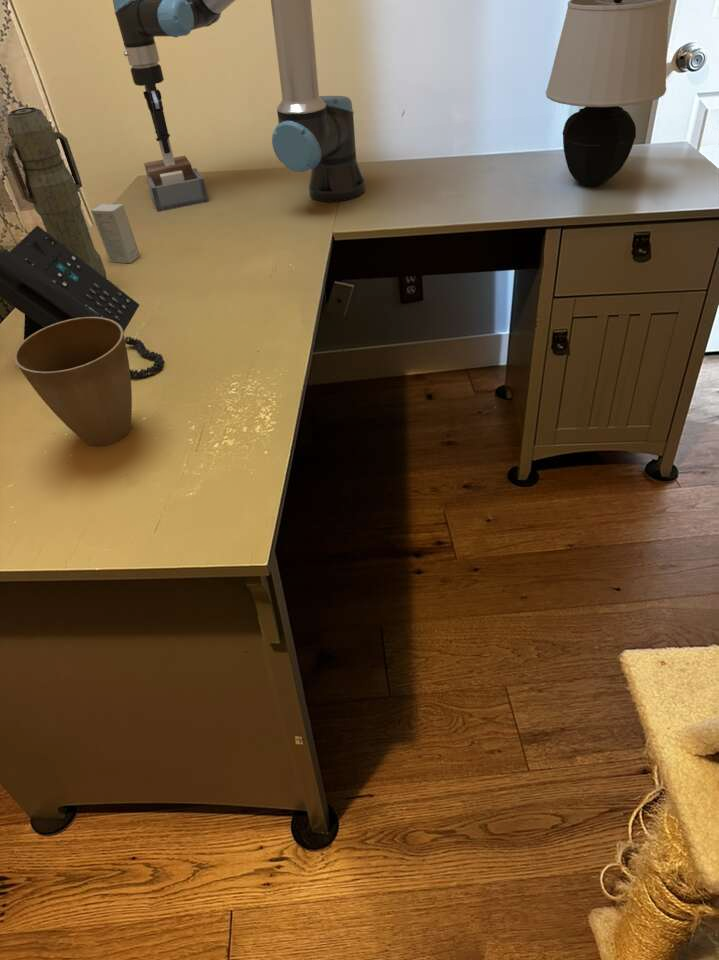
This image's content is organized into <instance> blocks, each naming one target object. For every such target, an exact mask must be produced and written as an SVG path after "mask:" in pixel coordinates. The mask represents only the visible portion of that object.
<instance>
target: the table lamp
mask: <svg viewBox="0 0 719 960" xmlns="http://www.w3.org/2000/svg"><path fill="white" fill-rule="evenodd" d="M669 5H670V0H568V2H567V9H566V13H565V18H564V21H563V26H562V29H561V33H560V37H559V41H558V44H557V49H556V52H555V56H554V59H553V60H554V61H553V65H552V69H551V72H550V73H551V74H550V76H549V80H548V84H547V88H546V90H545V95H546V98H547V99H549V100H550V101H552V102H555V103H558V104H562V105H567V106H575V107H582V108H579V110H578V111H577V112H574V113H572V115H570V116H568V117H567V119H566V121H565V123H564V126H563V130H562V144H563V153H564V157H565V163H566V167H567V169H568V171H569V174H570V175H571V176H572V178H573V179H574V180H575V181H576V182H577V183H578V184H580V185H584V186H588V187H589V186H599V185H602V184H605V183H606V182H607V181H609V180H610V179H612V178H613V177H614V176H615V175H616V174H617V173H619V171H620V170H621V169H622V168H623V167H624V164H625V163H626V161H627V160H628V158H629V155H630V153H631V151H632V148H633V145H634V143H635V139H636V136H637V134H636V133H637V130H636V129H637V128H636V124H635V122H634V120H633V118H632V116H631V115H630V113H629V112H628V111H626V110H624V108H623V107H624V106H626V107H627V106H634V105H640V104H644V103H645V104H646V103H649V102H652V101H656V100H658V99H660V98H662V97H663V96H664V95H665V94H666V91H667V58H668V56H667V55H668V33H669V31H668V30H669V24H668V23H669ZM583 107H584V108H583Z"/></svg>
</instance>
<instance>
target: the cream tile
mask: <svg viewBox="0 0 719 960" xmlns="http://www.w3.org/2000/svg"><path fill="white" fill-rule="evenodd" d="M160 178H161V181H162V185H166V184H171V183H176V182H182V181H185V180H184V176H183V172H182V171H181V170H180V171H175V172H170V173H164V174H160Z"/></svg>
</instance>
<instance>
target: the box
mask: <svg viewBox="0 0 719 960" xmlns="http://www.w3.org/2000/svg"><path fill="white" fill-rule="evenodd" d="M192 172H193V177H194V179H192V180H187V181H182V182H176V183H171V184H166V185H161V186H156V187H155V185H154V183H153V181H152V179H151V177H146V183H147V185H148V188H149V193H150V197H151V200H152V202H153V205H154V206H156V207H155V209H156V210H157V212H158V211H159V212H163V211H162V210H164V211H168V210H167V209H169V210H172V209H171V208H173V209H177V208H176V207H178V208H182V207H181V206H183V207H188V206H192V204H193V205H197V203H198V204H202V203H201V202H203V203H207V202H206V201H208V202H209V198H208V194H207V189H206V185H205V180H204V177H203V176H202V175H201V173H200V171H198V169H197V168H196V167H195V168H192ZM187 205H188V206H187Z"/></svg>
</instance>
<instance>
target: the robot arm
mask: <svg viewBox="0 0 719 960" xmlns="http://www.w3.org/2000/svg"><path fill="white" fill-rule="evenodd" d="M235 1H236V0H112V3H113V8H114V15H115V17H116V21H117V23H118V24H117V25H118V27H119V31H120V34H121V39H122V42H123V46H124V48H125V51H123V55H124V57H127V61H128V64H129V66H131V68H130V73H131V77H132V81H133V83H134V85H135V86H139V87H144V89H145V91H143V92H142V93H143V96H144V99H145V101H146V104H147V108H148V110H149V113H150V116H151V120H152V123H153V127H154V130H155V131H154V133H155V134H156V138H155V139H156V142H158V143H159V144H158V145H159V148H160V151H161V152H160V153H161V157H162V160H163V161H164V164H165V166H171V165H175V162H174V154H173V150H172V145H171V142H170V139H169V138H170V137H171V135H170V133H169V131H168V126H167V121H166V116H165V112H164V106H163V101H162V93H161V90H159V89H157V86H156V84H161V83H162V82H163V81H164V79H165V78H164V74H163V70H162V66H161V65H160V64H159V62H160V56H159V52H158V48H157V45H156V41H155V37H172V38H178V37H186V36H188V35H190V33H191V32H192V31H194V30H197V29H201V28H206V27H210V26H212V25H213V24H215V23H217V22H218V21H219V20H220V18H221V15H222V13H223V12H224V11H225V10H226V9H227V8H228V7H230V6H231V5H232V4H233V3H234V2H235ZM270 5H271V6H270V7H271V13H272V14H271V15H272V23H273V30H274V31H273V32H274V39H275V46H276V47H275V48H276V58H277V64H278V72H279V73H278V74H279V80H280V81H279V83H280V89H281V97H282V99H281V101H280V102H279V103H278V106H276V112H277V120H278V121H277V122H278V123H277V125H276V126H275V128H274V130H273V131H272V135H271V144H272V148H273V152H274V153H275V156H276V158H277V159H278V160H279V161H280V163H282V164H283V166H284V167H286V169H289V170H291V171H293V172H297V173H302V172H303V173H304V172H306V171H308V170H311V171H310V178H309V183H308V193H309V196H310V198H311V199H313V200H315V201H321V202H341V201H342V202H343V201H347V200H352V199H355V198H358V197H359V195H360V196H362V195H363V194H364V193H365V191H366V184H365V179H364V177H363V174H362V171H361V168H360V165H359V163H358V160H357V151H356V150H357V149H356V148H357V147H356V137H355V136H356V134H355V123H354V120H355V119H354V111H353V103H352V102H353V101H352V100H351V98H349V96H343V95H320V94H319V92H320V91H319V82H318V81H319V79H318V70H317V69H318V68H317V67H318V66H317V56H316V45H315V33H314V24H313V22H314V21H313V20H314V19H313V11H312V8H313V7H312V0H270ZM363 192H364V193H363ZM362 193H363V194H362Z"/></svg>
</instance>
